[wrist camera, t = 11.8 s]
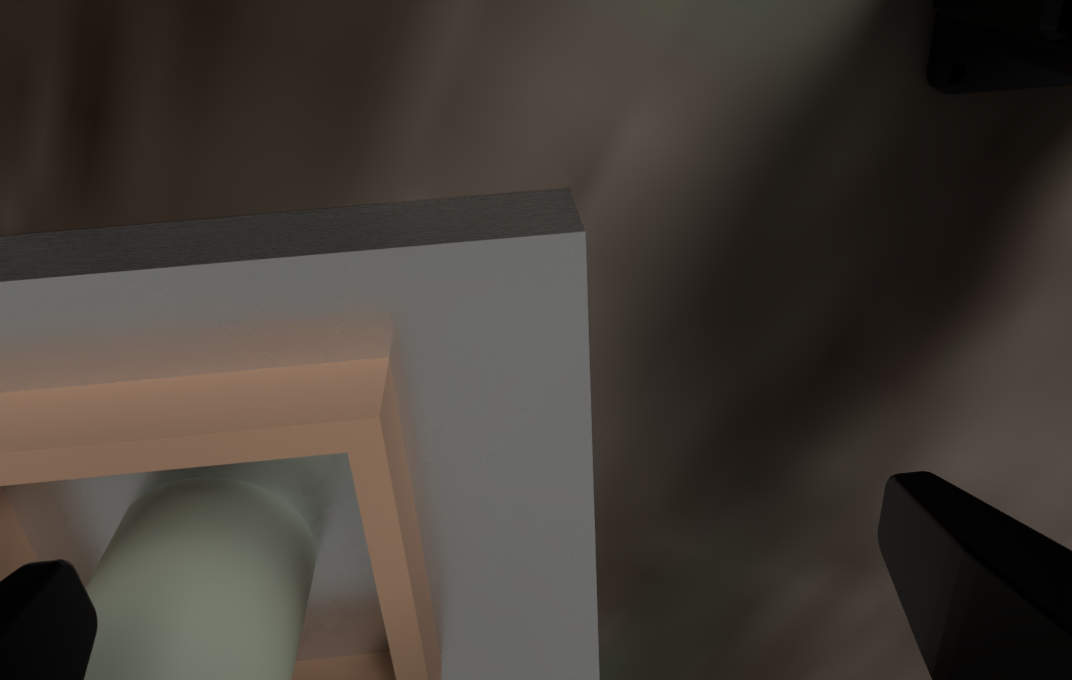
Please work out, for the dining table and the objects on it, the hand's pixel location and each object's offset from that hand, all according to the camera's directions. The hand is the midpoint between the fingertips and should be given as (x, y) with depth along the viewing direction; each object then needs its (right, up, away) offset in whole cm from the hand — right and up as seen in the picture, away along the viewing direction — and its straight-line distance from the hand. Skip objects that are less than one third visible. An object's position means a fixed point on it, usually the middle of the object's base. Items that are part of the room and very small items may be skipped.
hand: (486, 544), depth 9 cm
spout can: (-8, -3, +12) cm, 15 cm away
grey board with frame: (-8, -2, +15) cm, 17 cm away
